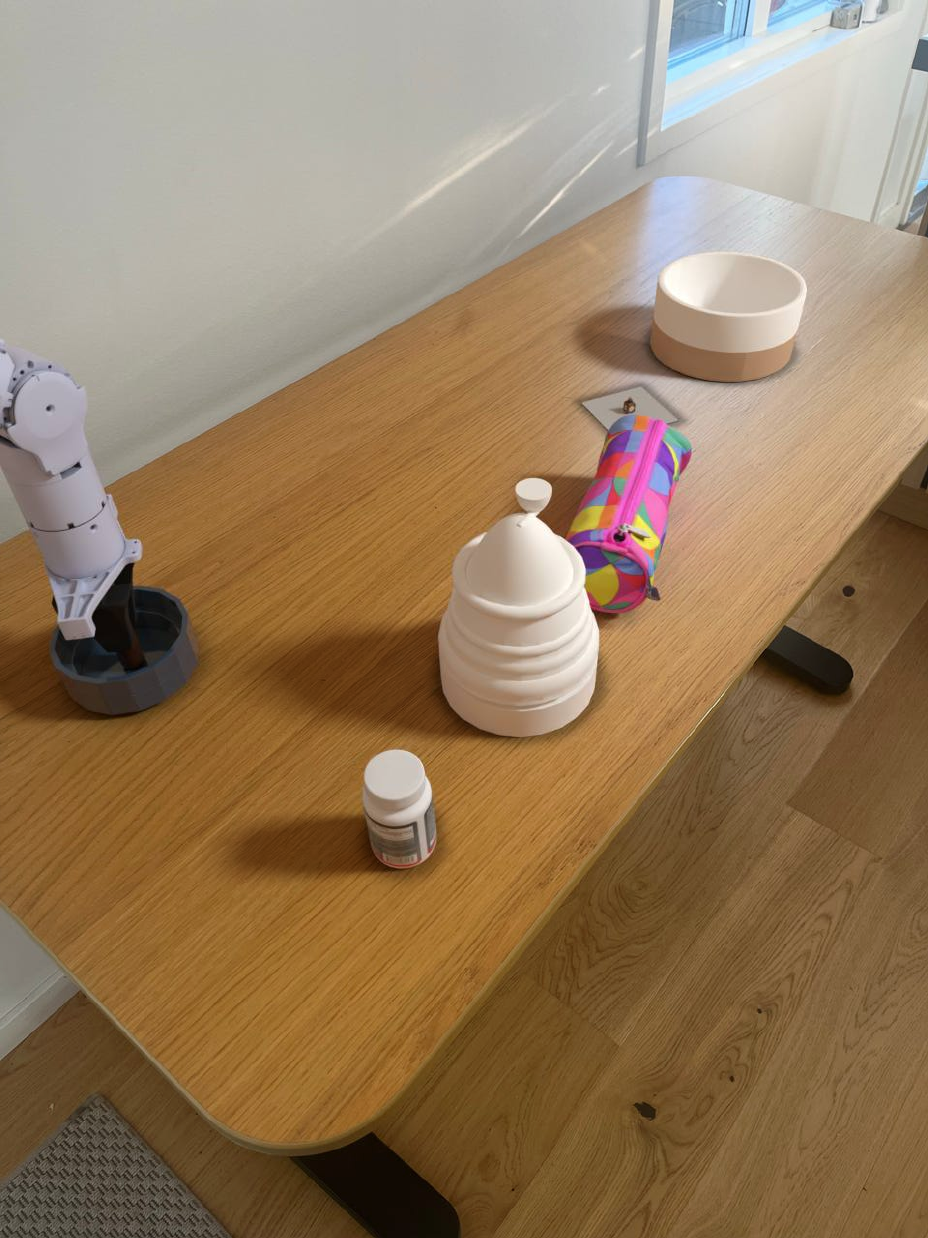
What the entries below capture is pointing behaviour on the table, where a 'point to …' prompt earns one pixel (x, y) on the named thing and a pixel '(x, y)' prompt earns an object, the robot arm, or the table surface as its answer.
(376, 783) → the pill bottle
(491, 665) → the honey pot
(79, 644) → the mixing bowl
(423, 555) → the table surface
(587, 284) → the table surface
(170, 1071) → the table surface
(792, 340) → the bowl
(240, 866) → the table surface
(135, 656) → the stirring stick
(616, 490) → the pencil case
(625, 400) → the grey flat square sheet
